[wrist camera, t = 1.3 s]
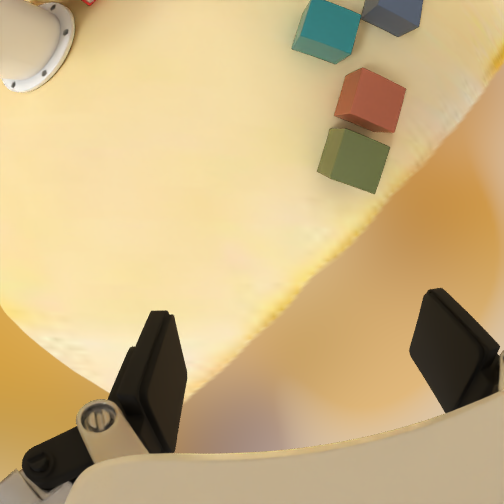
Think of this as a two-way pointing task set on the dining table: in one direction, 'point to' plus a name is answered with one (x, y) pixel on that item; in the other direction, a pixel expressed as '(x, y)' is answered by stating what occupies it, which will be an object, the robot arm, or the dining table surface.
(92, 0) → the stack of blocks
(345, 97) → the terracotta cube
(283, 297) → the dining table surface
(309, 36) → the teal cube
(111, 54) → the dining table surface
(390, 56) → the dining table surface
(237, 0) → the dining table surface
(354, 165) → the olive cube
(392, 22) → the slate cube
